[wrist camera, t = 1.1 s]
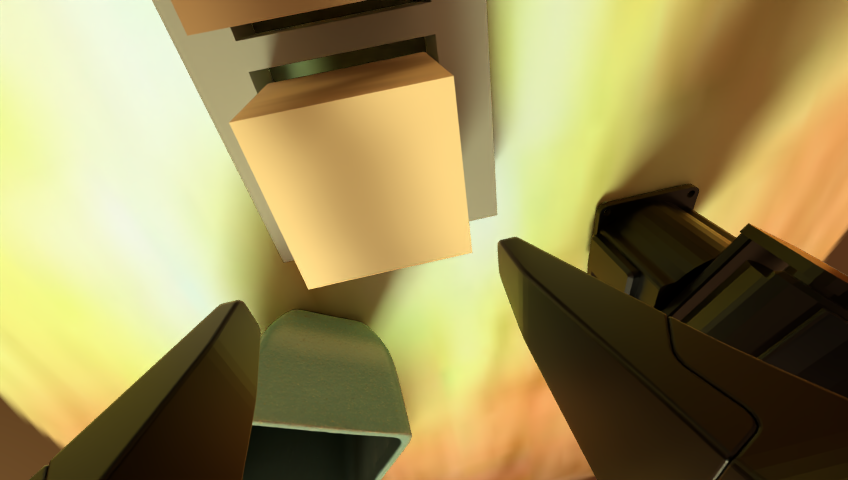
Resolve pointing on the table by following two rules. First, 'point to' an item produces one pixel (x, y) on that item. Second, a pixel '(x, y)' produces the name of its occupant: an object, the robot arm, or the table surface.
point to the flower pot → (325, 402)
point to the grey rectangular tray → (255, 53)
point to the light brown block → (361, 167)
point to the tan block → (241, 11)
